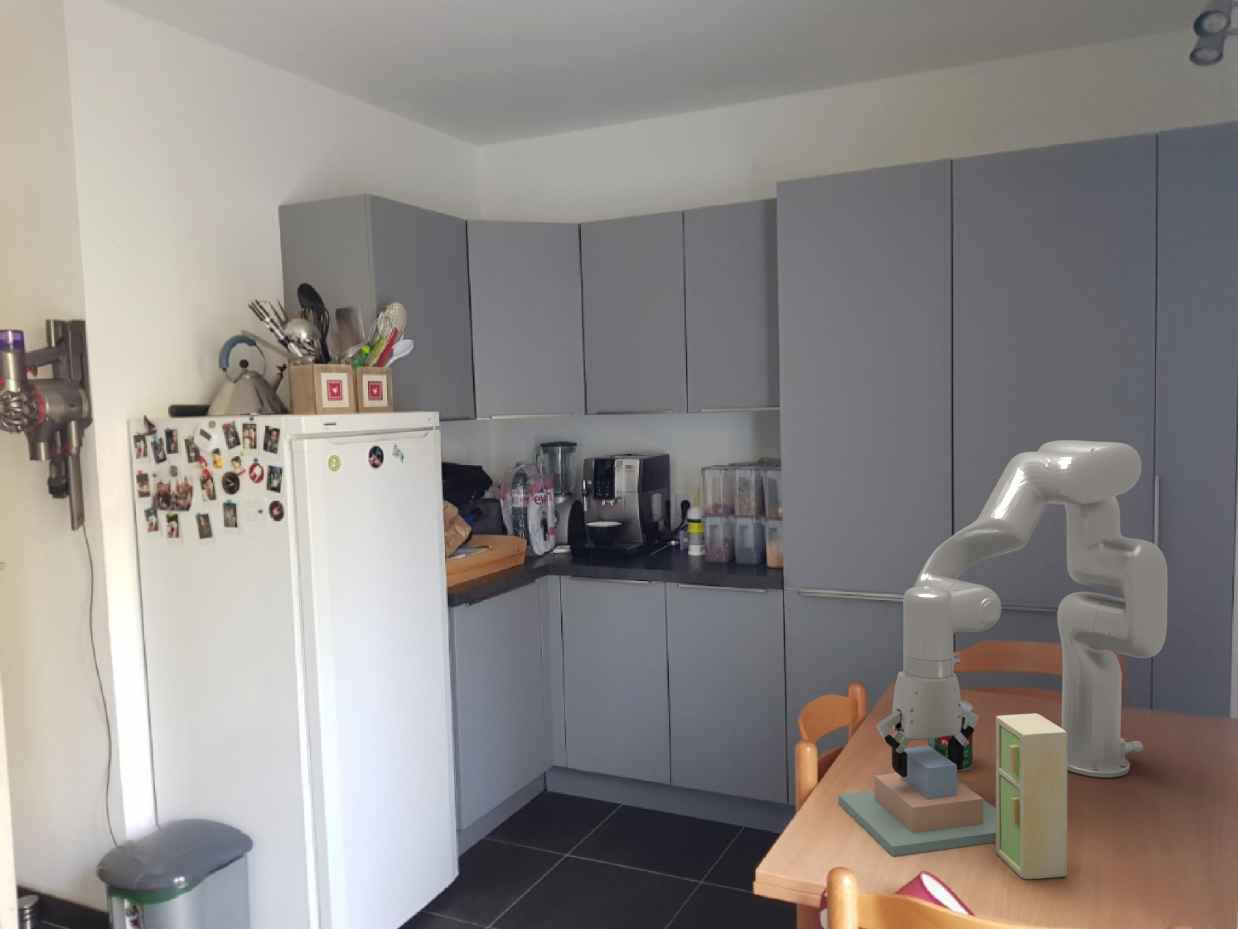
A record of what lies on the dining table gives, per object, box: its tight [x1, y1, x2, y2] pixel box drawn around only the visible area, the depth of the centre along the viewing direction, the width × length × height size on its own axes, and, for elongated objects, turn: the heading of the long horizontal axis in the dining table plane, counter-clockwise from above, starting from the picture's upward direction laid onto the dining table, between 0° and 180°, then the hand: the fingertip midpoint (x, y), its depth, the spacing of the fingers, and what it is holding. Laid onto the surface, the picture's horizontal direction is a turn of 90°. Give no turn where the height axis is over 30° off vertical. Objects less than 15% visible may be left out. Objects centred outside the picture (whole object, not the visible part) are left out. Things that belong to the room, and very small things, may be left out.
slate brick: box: [901, 745, 958, 800], centre depth 144 cm, size 5×8×5 cm, turn 12°
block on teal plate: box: [838, 772, 996, 857], centre depth 144 cm, size 22×18×6 cm
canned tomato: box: [927, 699, 974, 773], centre depth 166 cm, size 8×8×11 cm
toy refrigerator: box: [995, 712, 1068, 880], centre depth 130 cm, size 8×7×21 cm
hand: (927, 770), depth 144 cm, fingers open, 9 cm apart
